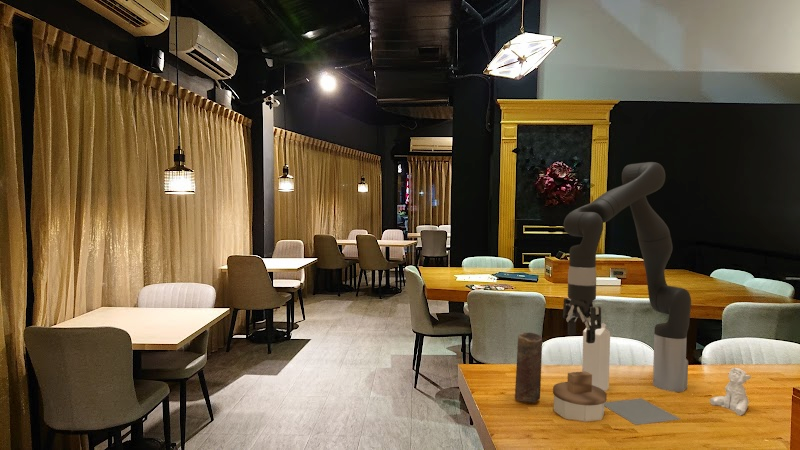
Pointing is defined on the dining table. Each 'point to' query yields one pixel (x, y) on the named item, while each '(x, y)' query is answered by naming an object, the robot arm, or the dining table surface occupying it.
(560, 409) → the bowl
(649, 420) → the mat
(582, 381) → the lid
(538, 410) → the dining table surface
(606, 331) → the milk
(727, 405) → the sitting furry creature
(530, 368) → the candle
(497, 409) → the dining table surface
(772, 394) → the dining table surface
